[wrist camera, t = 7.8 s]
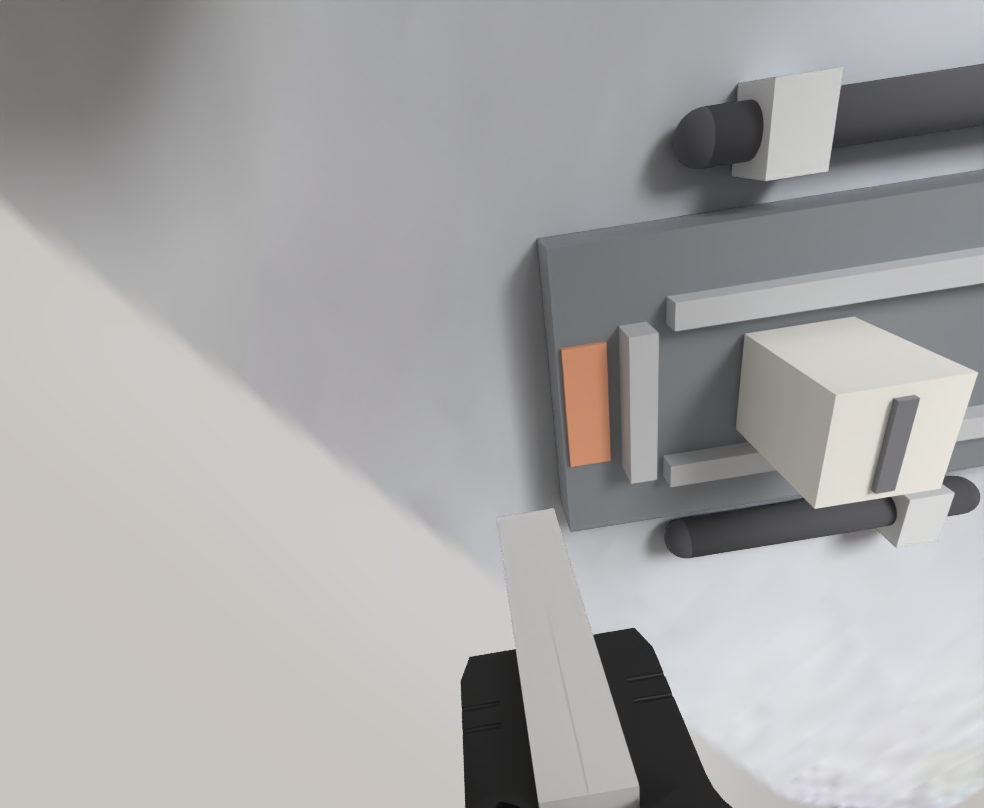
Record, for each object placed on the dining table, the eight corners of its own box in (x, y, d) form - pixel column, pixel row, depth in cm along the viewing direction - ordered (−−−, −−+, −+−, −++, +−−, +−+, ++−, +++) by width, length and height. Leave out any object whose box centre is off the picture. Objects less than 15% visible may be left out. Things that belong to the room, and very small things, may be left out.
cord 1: (665, 94, 17) (694, 89, 15) (1110, 26, 17) (1194, 13, 15) (664, 186, 18) (690, 192, 17) (1077, 122, 19) (1152, 121, 17)
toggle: (744, 333, 19) (841, 398, 14) (853, 316, 19) (985, 375, 14) (735, 428, 21) (818, 512, 16) (835, 412, 21) (946, 492, 16)
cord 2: (658, 505, 25) (677, 537, 23) (964, 457, 25) (1008, 484, 23) (658, 550, 26) (675, 583, 24) (949, 503, 26) (989, 532, 25)
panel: (537, 238, 19) (553, 257, 16) (1189, 137, 19) (1319, 138, 16) (561, 502, 24) (576, 551, 22) (1067, 422, 25) (1148, 459, 22)
